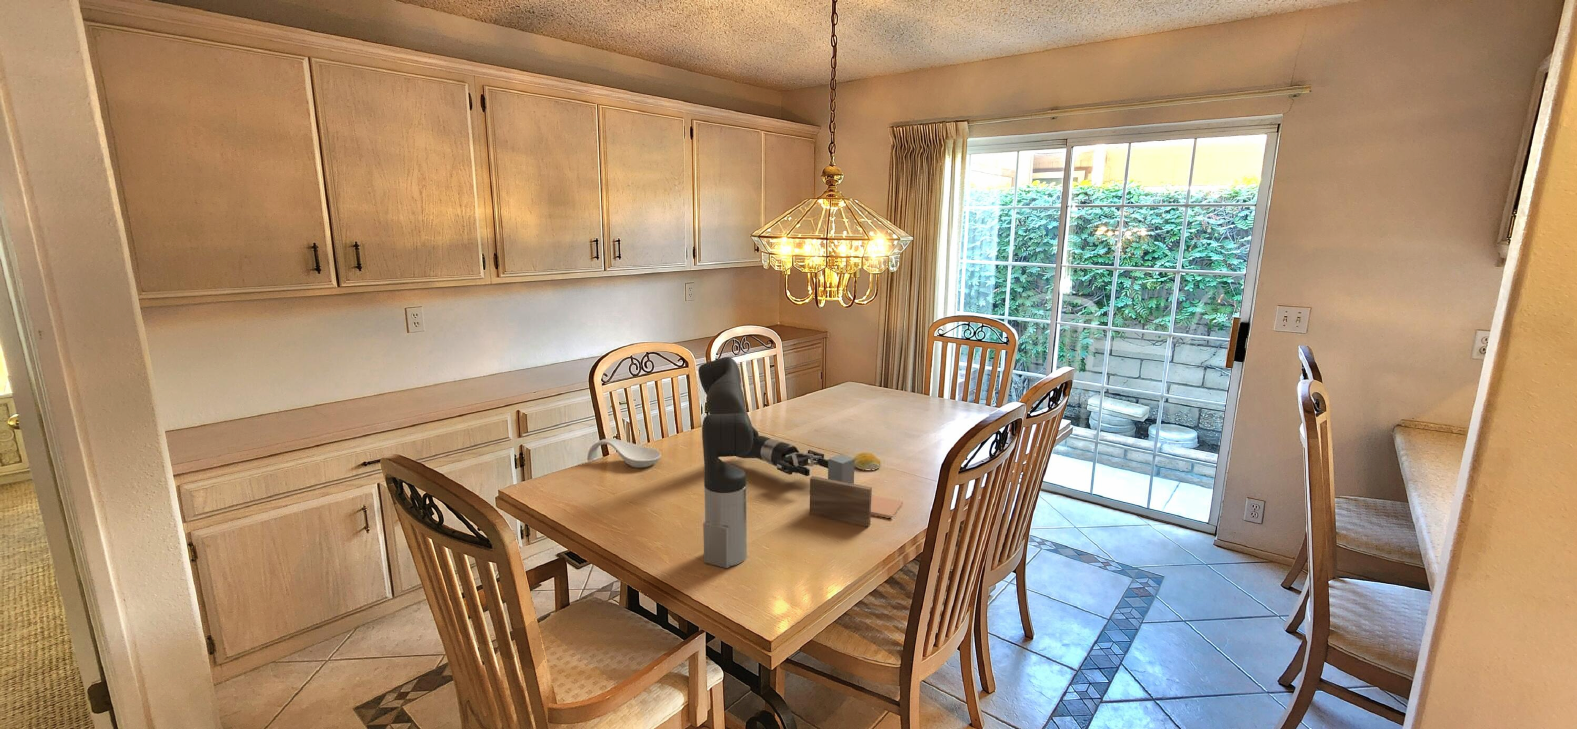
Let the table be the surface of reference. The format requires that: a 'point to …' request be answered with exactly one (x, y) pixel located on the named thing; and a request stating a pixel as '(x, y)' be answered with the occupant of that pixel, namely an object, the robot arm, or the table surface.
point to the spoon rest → (628, 452)
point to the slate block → (841, 468)
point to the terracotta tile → (884, 506)
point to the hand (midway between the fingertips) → (819, 468)
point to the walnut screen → (840, 501)
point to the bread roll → (867, 461)
